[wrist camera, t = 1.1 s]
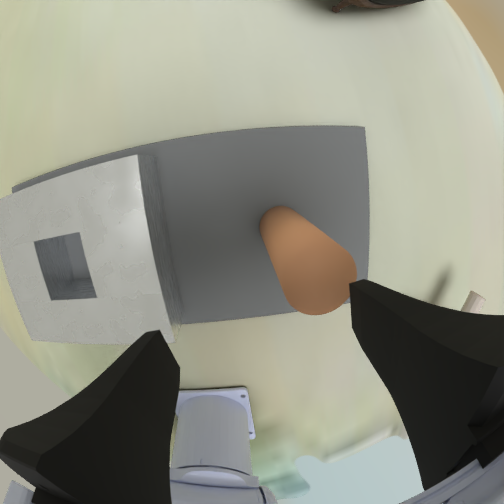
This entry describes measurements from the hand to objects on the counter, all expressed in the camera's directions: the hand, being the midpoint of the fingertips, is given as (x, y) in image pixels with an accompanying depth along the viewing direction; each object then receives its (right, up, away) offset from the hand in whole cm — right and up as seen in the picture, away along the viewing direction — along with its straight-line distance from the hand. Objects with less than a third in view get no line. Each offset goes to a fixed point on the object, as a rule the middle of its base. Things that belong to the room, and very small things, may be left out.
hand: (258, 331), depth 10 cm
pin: (+2, +5, +10) cm, 11 cm away
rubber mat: (-6, +4, +10) cm, 12 cm away
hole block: (-13, +3, +9) cm, 16 cm away
